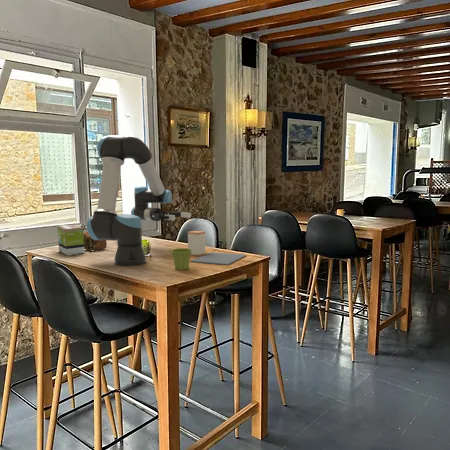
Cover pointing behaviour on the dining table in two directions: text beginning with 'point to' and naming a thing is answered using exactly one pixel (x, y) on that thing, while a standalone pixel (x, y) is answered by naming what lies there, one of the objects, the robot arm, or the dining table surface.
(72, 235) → the tea box
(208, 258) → the slate mat
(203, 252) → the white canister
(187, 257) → the plant pot
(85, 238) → the bread
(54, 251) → the dining table surface
